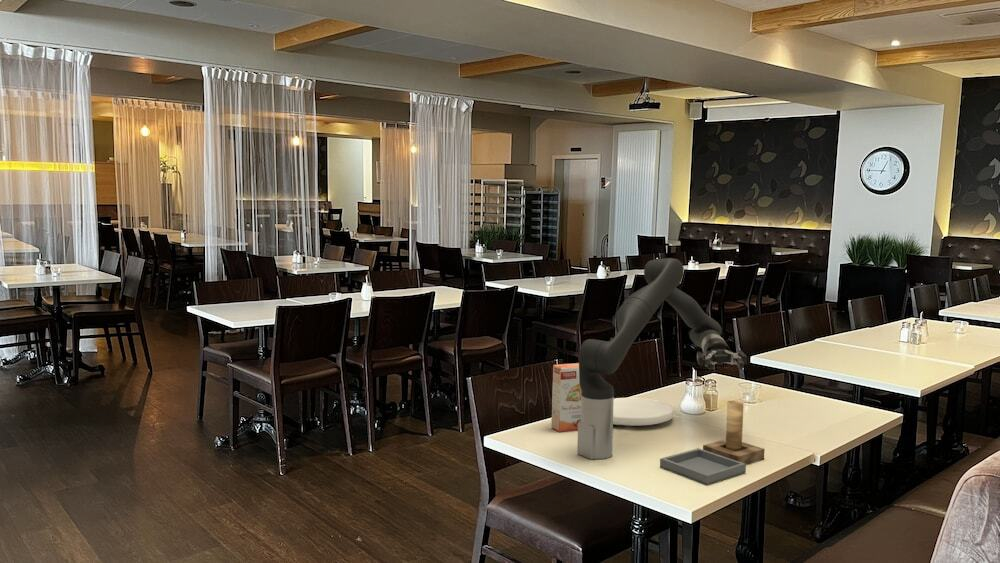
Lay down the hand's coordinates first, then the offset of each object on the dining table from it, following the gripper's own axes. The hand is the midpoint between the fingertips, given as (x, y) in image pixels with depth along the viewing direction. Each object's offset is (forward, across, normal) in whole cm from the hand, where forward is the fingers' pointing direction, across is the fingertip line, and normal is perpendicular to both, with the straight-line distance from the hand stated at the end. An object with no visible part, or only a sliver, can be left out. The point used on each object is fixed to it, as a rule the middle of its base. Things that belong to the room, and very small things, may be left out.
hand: (726, 366), depth 221 cm
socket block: (+14, -1, +22) cm, 26 cm away
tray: (+26, -11, +20) cm, 34 cm away
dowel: (+14, -1, +22) cm, 26 cm away
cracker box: (-9, -46, +24) cm, 52 cm away
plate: (-22, -26, +27) cm, 43 cm away
